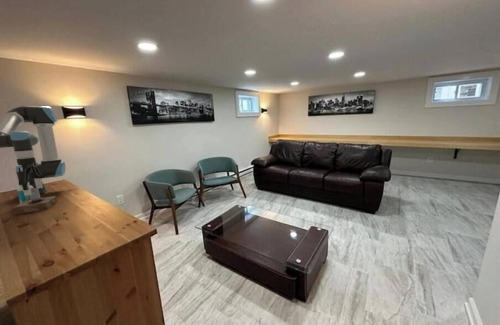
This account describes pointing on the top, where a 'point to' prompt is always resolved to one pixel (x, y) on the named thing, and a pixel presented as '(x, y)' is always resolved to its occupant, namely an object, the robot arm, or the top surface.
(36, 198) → the peg
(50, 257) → the top surface
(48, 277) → the top surface
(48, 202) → the socket block
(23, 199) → the pill bottle
